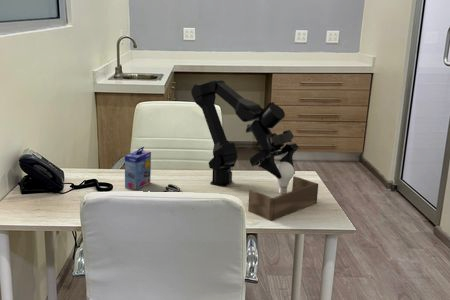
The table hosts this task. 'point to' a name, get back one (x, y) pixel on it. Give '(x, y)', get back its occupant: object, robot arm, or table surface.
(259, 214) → the open box
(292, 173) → the lightbulb
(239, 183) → the table surface
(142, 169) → the ink cartridge box
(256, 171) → the table surface
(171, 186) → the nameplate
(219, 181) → the robot arm
